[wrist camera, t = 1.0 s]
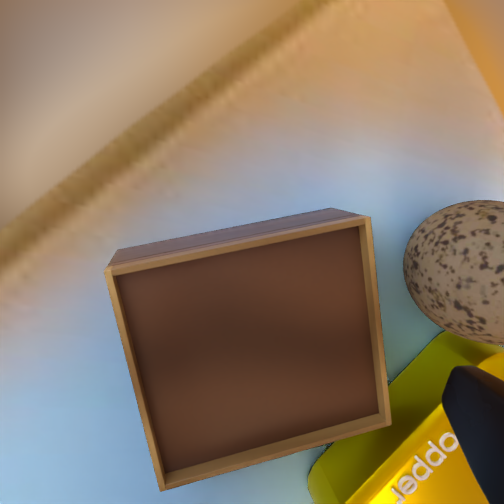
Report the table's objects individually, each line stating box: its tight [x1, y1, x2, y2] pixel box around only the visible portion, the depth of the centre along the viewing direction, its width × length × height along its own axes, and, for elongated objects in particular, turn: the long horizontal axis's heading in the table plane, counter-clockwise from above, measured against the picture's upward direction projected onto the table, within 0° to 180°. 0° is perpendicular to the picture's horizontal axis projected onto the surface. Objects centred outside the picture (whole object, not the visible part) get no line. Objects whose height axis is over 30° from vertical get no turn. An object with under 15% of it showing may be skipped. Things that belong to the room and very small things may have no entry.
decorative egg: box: [403, 200, 504, 345], centre depth 21 cm, size 7×7×10 cm
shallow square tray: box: [104, 208, 392, 492], centre depth 22 cm, size 11×12×5 cm
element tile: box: [308, 330, 504, 504], centre depth 27 cm, size 15×15×5 cm
